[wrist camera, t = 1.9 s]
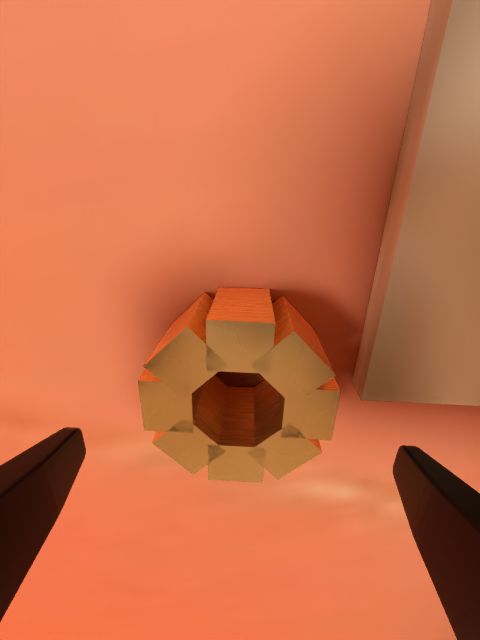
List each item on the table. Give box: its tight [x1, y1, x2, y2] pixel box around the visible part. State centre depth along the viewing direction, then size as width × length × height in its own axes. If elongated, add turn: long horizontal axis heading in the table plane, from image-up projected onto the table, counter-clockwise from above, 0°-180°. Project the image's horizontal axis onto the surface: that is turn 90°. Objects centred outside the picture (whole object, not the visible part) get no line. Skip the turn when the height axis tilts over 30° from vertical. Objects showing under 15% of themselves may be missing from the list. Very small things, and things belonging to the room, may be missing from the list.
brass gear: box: [138, 287, 341, 483], centre depth 11 cm, size 6×6×4 cm
